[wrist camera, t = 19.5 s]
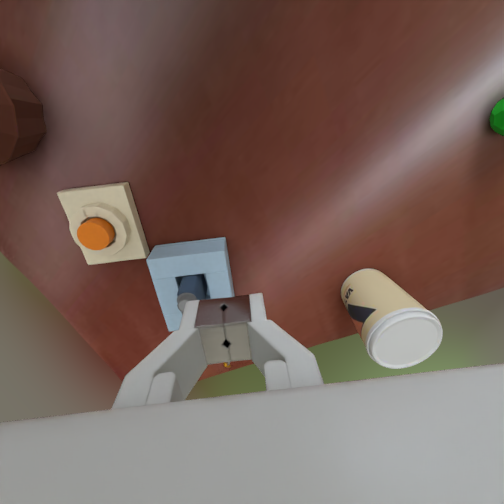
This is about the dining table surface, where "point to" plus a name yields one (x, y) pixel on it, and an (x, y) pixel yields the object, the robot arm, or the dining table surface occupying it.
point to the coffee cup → (390, 320)
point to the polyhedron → (498, 118)
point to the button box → (113, 211)
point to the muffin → (18, 118)
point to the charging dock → (189, 272)
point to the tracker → (227, 364)
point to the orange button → (95, 234)
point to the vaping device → (191, 290)
